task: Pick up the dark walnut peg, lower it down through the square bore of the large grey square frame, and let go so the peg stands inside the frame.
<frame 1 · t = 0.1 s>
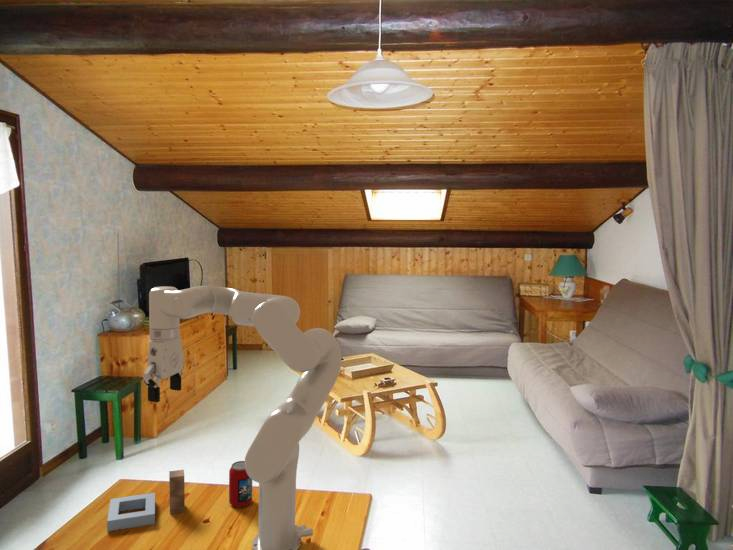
hand: (165, 395, 147), 37 cm above the table, tool pointing down, fingers open, 9 cm apart
grey square frame: (132, 516, 155), on the table
walnut peg: (177, 509, 160), on the table
beverage can: (240, 503, 164), on the table
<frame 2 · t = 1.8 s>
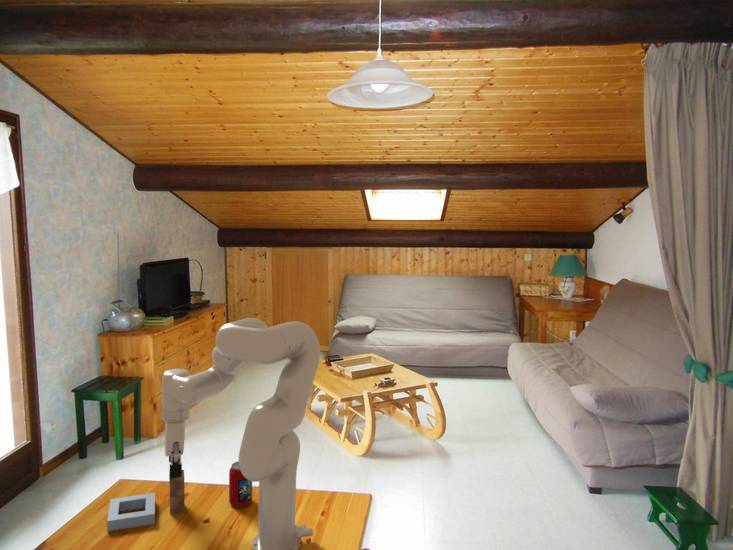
hand: (175, 469, 158), 12 cm above the table, tool pointing down, fingers open, 9 cm apart
nothing on the table moved.
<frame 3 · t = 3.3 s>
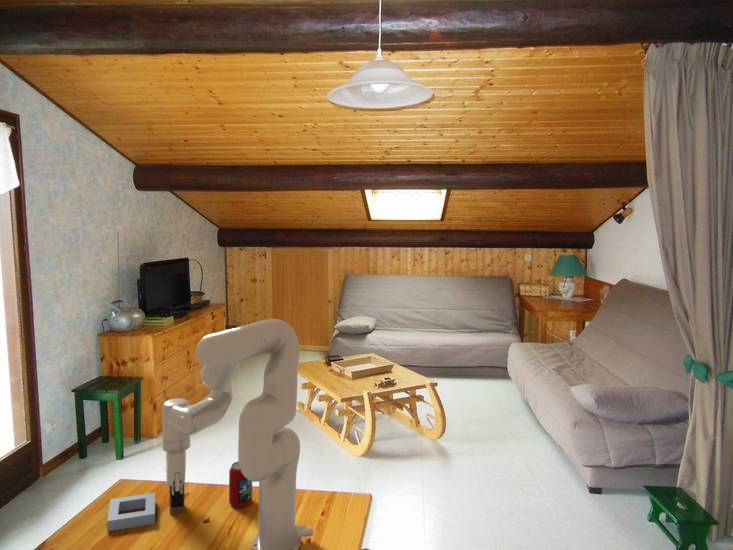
hand: (176, 501, 159), 2 cm above the table, tool pointing down, fingers closed on walnut peg, 4 cm apart
walnut peg: (176, 509, 160), on the table, touching gripper
everything else where it was.
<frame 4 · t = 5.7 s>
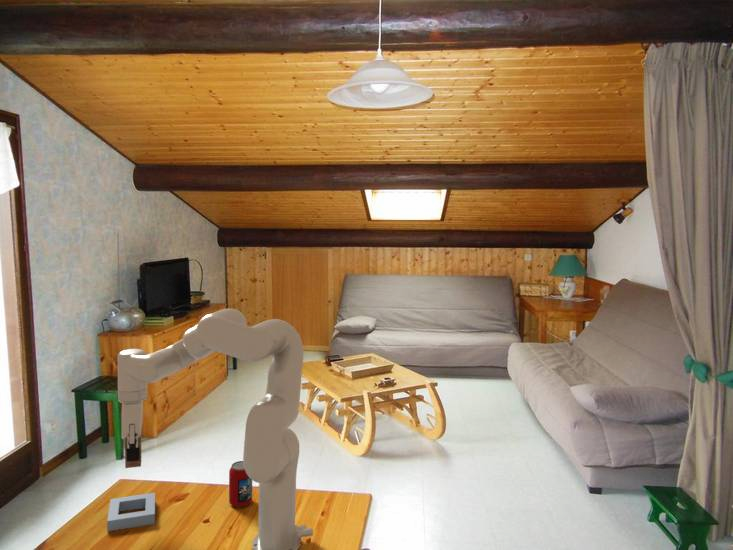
hand: (133, 456, 154), 18 cm above the table, tool pointing down, fingers closed on walnut peg, 4 cm apart
walnut peg: (133, 464, 154), point 15 cm above the table, touching gripper
everything else where it was.
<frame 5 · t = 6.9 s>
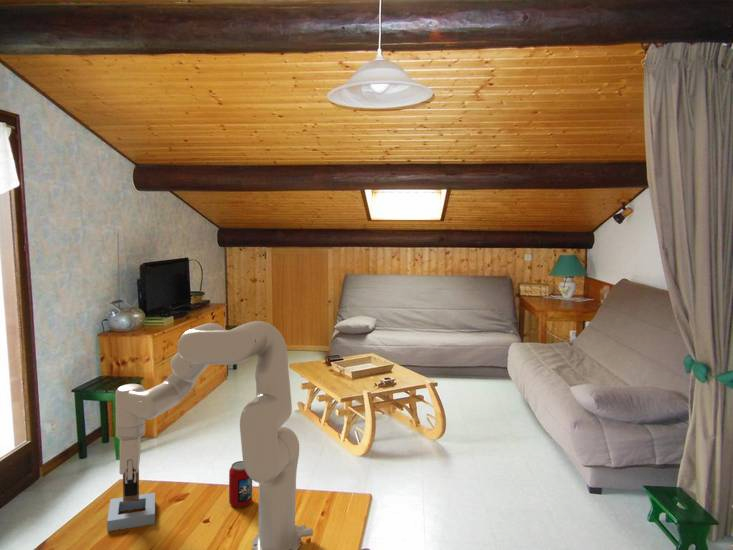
hand: (131, 490, 154), 8 cm above the table, tool pointing down, fingers closed on walnut peg, 4 cm apart
walnut peg: (131, 498, 155), point 5 cm above the table, touching gripper
everything else where it was.
when the fingers open (4 cm above the table, at t = 8.0 s): walnut peg drops 1 cm, resting in grey square frame.
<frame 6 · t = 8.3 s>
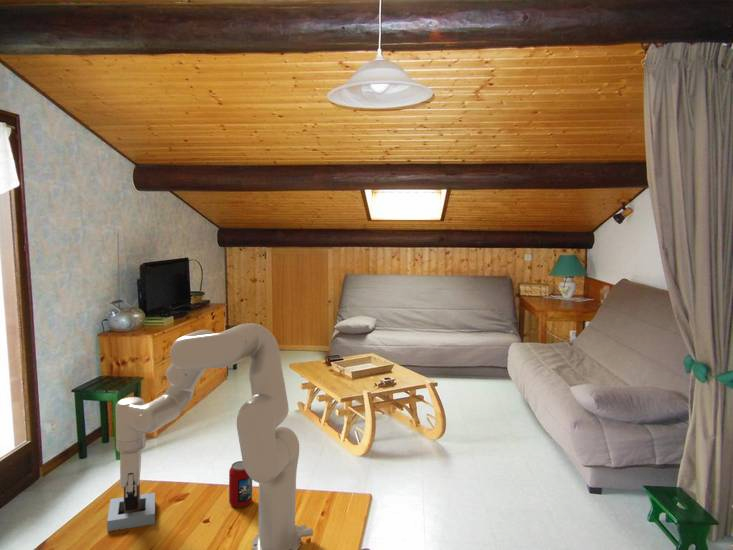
hand: (132, 502, 155), 4 cm above the table, tool pointing down, fingers open, 6 cm apart
walnut peg: (132, 516, 155), resting in grey square frame
everything else where it was.
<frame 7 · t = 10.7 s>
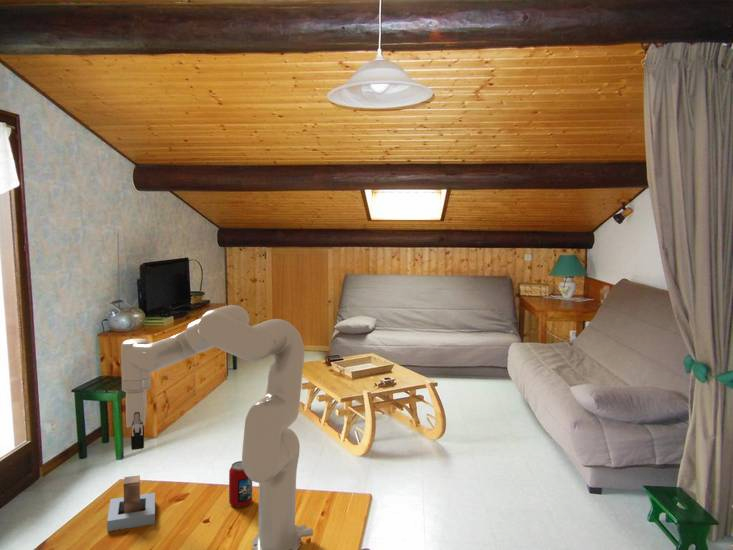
hand: (137, 441, 155), 21 cm above the table, tool pointing down, fingers open, 9 cm apart
nothing on the table moved.
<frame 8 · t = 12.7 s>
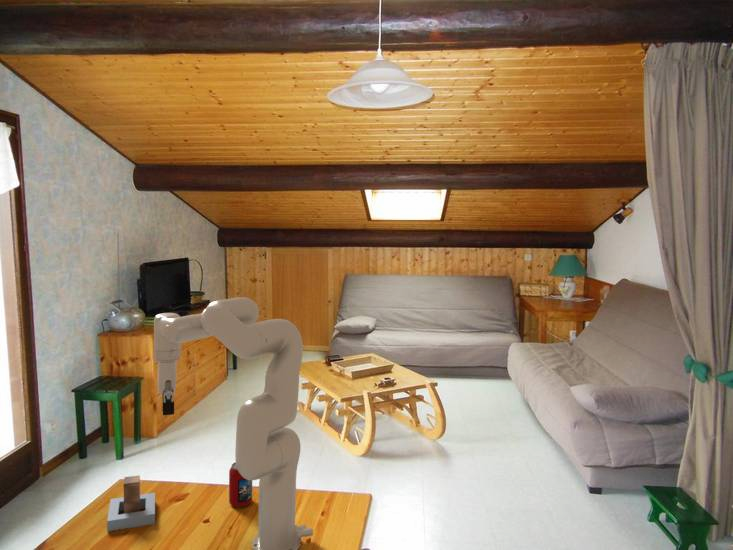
hand: (168, 408, 167), 26 cm above the table, tool pointing down, fingers open, 9 cm apart
nothing on the table moved.
at the end: walnut peg 0.0 cm off-centre on the grey square frame, point 0.0 cm above the grey square frame's base; walnut peg tilted 0°; the gripper is holding nothing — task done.
